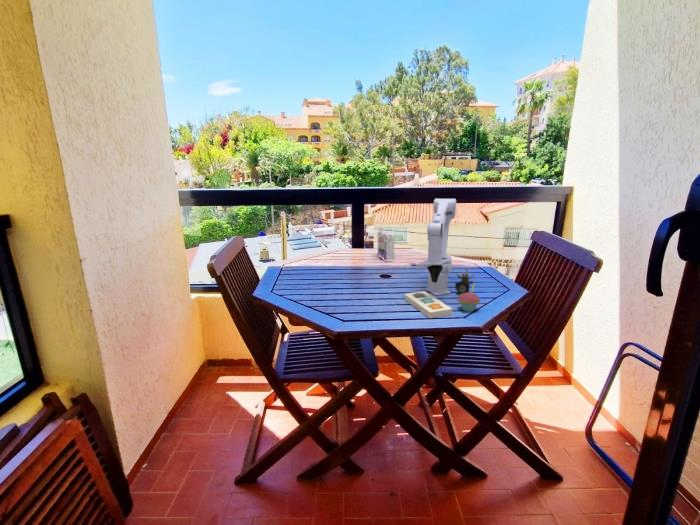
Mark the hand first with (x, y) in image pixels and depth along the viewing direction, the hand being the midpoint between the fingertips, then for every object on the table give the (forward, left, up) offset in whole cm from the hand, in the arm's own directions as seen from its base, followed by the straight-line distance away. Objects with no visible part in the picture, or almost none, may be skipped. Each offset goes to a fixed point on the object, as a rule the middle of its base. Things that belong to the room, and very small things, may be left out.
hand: (434, 281), depth 167 cm
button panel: (+3, -5, -9) cm, 11 cm away
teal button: (+3, -5, -9) cm, 11 cm away
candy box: (-77, +10, -10) cm, 78 cm away
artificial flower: (-12, +22, -10) cm, 27 cm away
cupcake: (+12, +9, -10) cm, 18 cm away
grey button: (-4, -5, -9) cm, 11 cm away
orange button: (+10, -5, -9) cm, 14 cm away
